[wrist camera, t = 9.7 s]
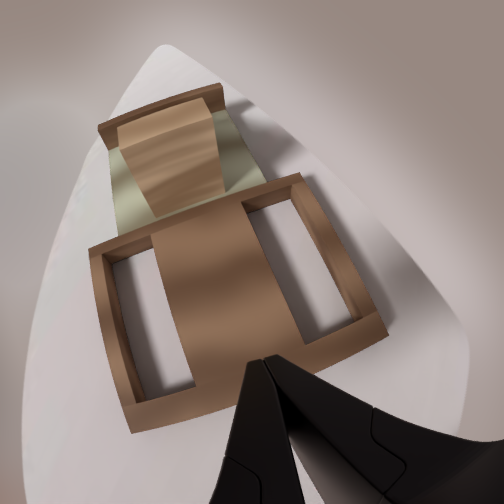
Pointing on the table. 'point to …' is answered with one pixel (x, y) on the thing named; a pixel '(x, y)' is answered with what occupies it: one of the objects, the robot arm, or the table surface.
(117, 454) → the table surface
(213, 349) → the brown wooden flat frame
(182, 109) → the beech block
